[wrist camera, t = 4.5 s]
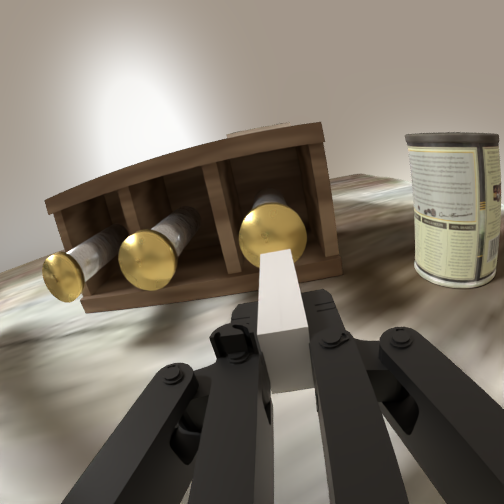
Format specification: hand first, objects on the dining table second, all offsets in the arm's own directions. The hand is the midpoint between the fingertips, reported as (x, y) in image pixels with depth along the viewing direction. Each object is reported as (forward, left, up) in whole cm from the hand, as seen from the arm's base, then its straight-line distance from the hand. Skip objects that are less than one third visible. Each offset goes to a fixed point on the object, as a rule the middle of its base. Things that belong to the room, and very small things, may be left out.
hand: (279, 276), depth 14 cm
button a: (-5, +11, -2) cm, 13 cm away
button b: (-15, +7, -2) cm, 16 cm away
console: (-18, +15, -8) cm, 25 cm away
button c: (-24, +3, -2) cm, 24 cm away
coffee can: (+13, +18, -8) cm, 23 cm away
